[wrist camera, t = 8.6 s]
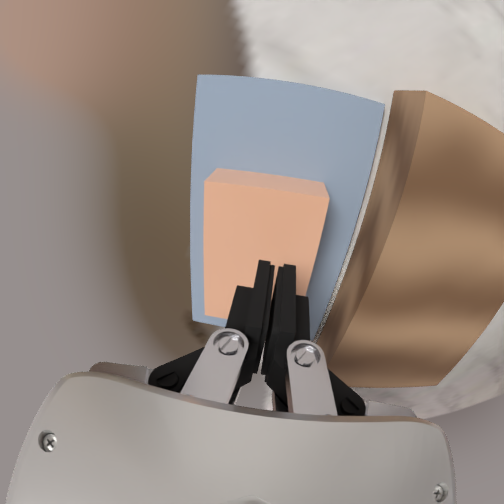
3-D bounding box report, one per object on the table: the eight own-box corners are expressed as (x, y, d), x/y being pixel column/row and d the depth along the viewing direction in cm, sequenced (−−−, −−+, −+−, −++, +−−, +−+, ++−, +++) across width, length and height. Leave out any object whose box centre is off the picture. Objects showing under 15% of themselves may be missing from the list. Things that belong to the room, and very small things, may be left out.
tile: (329, 198, 12) (323, 182, 14) (204, 181, 13) (217, 167, 15) (295, 329, 17) (295, 303, 19) (204, 314, 18) (213, 291, 20)
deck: (394, 90, 11) (426, 90, 8) (523, 158, 11) (557, 177, 7) (315, 345, 22) (316, 384, 19) (426, 352, 21) (436, 385, 18)
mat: (199, 75, 12) (198, 74, 12) (383, 104, 12) (384, 104, 12) (193, 317, 22) (192, 320, 22) (312, 337, 21) (312, 340, 21)
